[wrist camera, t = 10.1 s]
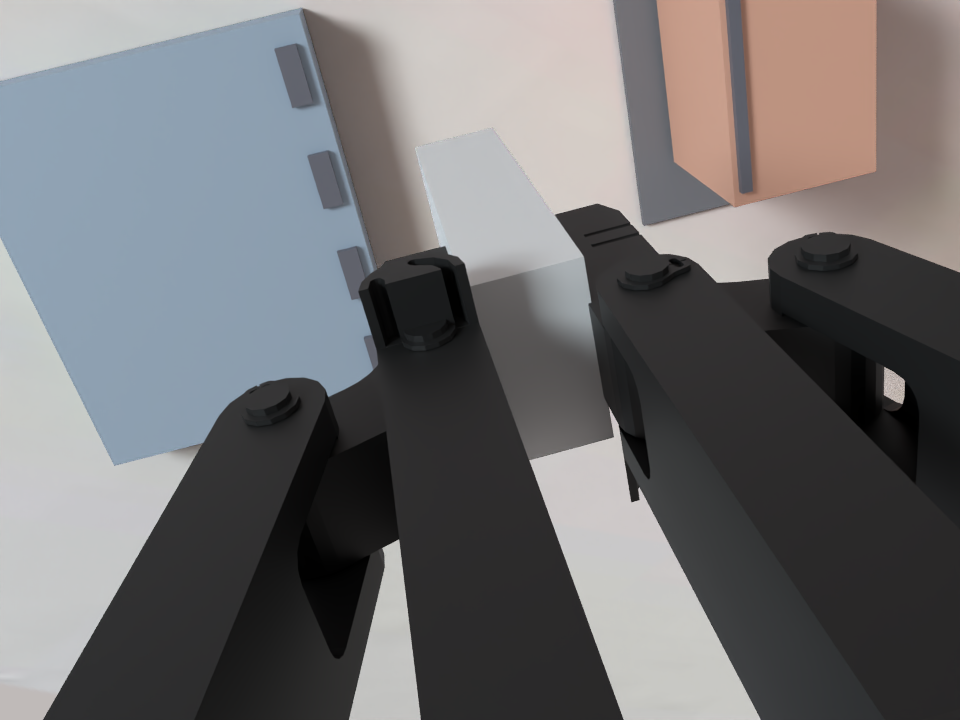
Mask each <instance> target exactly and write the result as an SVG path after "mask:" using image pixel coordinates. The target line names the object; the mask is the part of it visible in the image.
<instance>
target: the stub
mask: <svg viewBox="0 0 960 720" xmlns="http://www.w3.org/2000/svg"><path fill="white" fill-rule="evenodd" d="M656 1H657V10H658V19H659V28H660V38H661V47H662V56H663V65H664V74H665V83H666V93H667V102H668V111H669V120H670V129H671V138H672V148H673V157H674V162H675V163H676V164H678V165H679V166H680V167H682V168H683V169H684V170H686V171H687V172H688V173H690V174H691V175H692V176H694V177H695V178H696V179H698V180H699V181H700V182H702V183H703V184H704V185H706V186H707V187H708V188H710V189H711V190H713V191H714V192H715V193H717V194H718V195H719V196H721V197H722V198H723V199H725V200H726V201H727V202H729V203H730V204H731V205H733V206H734V207H738V206H742V205H746V204H750V203H754V202H758V201H762V200H766V199H769V198H773V197H777V196H781V195H785V194H789V193H793V192H797V191H801V190H805V189H809V188H813V187H817V186H821V185H825V184H829V183H833V182H837V181H841V180H845V179H849V178H853V177H857V176H861V175H865V174H868V173H872V172H876V0H656Z"/></svg>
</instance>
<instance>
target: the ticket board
mask: <svg viewBox="0 0 960 720" xmlns="http://www.w3.org/2000/svg"><path fill="white" fill-rule="evenodd" d="M0 237H1V239H2V241H3V243H4V245H5V247H6V249H7V252H8V254H9V256H10V258H11V260H12V262H13V264H14V266H15V268H16V270H17V272H18V274H19V276H20V278H21V280H22V282H23V284H24V286H25V288H26V290H27V292H28V294H29V296H30V298H31V300H32V302H33V304H34V306H35V308H36V310H37V312H38V314H39V316H40V318H41V320H42V322H43V324H44V326H45V328H46V330H47V332H48V334H49V336H50V338H51V340H52V342H53V344H54V346H55V348H56V350H57V352H58V354H59V356H60V358H61V360H62V362H63V364H64V366H65V368H66V370H67V372H68V374H69V376H70V378H71V380H72V382H73V384H74V386H75V388H76V390H77V392H78V394H79V396H80V398H81V400H82V402H83V404H84V406H85V408H86V410H87V412H88V414H89V416H90V418H91V420H92V422H93V424H94V426H95V428H96V430H97V432H98V434H99V436H100V438H101V440H102V442H103V444H104V446H105V448H106V450H107V452H108V454H109V456H110V458H111V460H112V462H113V464H114V466H115V465H119V464H123V463H127V462H131V461H134V460H138V459H142V458H146V457H150V456H154V455H158V454H162V453H166V452H170V451H174V450H178V449H181V448H185V447H189V446H193V445H197V444H201V443H203V442H204V441H205V439H206V437H207V436H208V434H209V432H210V430H211V429H212V427H213V425H214V423H215V422H216V420H217V418H218V417H219V415H220V414H221V413H222V412H223V410H224V409H225V408H226V407H227V406H228V405H229V403H231V402H232V401H234V400H235V399H236V398H238V397H239V396H241V395H242V394H244V393H245V392H246V391H247V390H248V389H250V388H252V387H254V386H256V385H257V387H258V386H260V385H259V384H261V383H264V382H267V381H276V380H280V379H284V378H301V377H305V378H309V379H312V380H316V381H319V383H320V384H321V385H322V386H323V387H324V388H325V389H326V392H327V395H328V397H329V396H331V395H333V394H336V393H338V392H340V391H342V390H344V389H346V388H348V387H350V386H352V385H354V384H356V383H357V382H359V381H360V380H362V379H363V378H364V377H366V376H367V375H369V374H370V373H371V372H372V371H373V370H374V369H375V367H376V366H377V365H378V358H377V350H376V347H375V344H374V340H373V337H372V334H371V331H370V328H369V324H368V321H367V318H366V315H365V312H364V309H363V305H362V302H361V299H360V296H359V293H358V290H359V287H360V285H361V282H362V281H363V280H364V279H365V278H366V277H367V276H368V275H370V274H371V273H372V272H373V271H375V270H377V266H376V262H375V259H374V255H373V252H372V249H371V245H370V242H369V238H368V235H367V231H366V228H365V224H364V221H363V217H362V214H361V210H360V207H359V203H358V200H357V197H356V193H355V190H354V186H353V183H352V179H351V176H350V172H349V169H348V165H347V162H346V158H345V155H344V152H343V148H342V145H341V141H340V138H339V134H338V131H337V127H336V124H335V120H334V117H333V113H332V110H331V106H330V103H329V100H328V96H327V93H326V89H325V86H324V82H323V79H322V75H321V72H320V68H319V65H318V61H317V58H316V55H315V51H314V48H313V44H312V41H311V37H310V34H309V30H308V27H307V23H306V20H305V16H304V13H303V9H302V8H299V9H295V10H291V11H287V12H282V13H278V14H274V15H270V16H266V17H262V18H258V19H254V20H250V21H246V22H241V23H237V24H233V25H229V26H225V27H221V28H217V29H213V30H209V31H205V32H200V33H196V34H192V35H188V36H184V37H180V38H176V39H172V40H168V41H164V42H159V43H155V44H151V45H147V46H143V47H139V48H135V49H131V50H127V51H123V52H118V53H114V54H110V55H106V56H102V57H98V58H94V59H90V60H86V61H82V62H77V63H73V64H69V65H65V66H61V67H57V68H53V69H49V70H45V71H41V72H36V73H32V74H28V75H24V76H20V77H16V78H12V79H8V80H4V81H0Z"/></svg>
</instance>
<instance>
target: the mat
mask: <svg viewBox="0 0 960 720" xmlns="http://www.w3.org/2000/svg"><path fill="white" fill-rule="evenodd" d="M613 2H614V10H615V18H616V25H617V33H618V40H619V48H620V56H621V63H622V71H623V79H624V86H625V94H626V102H627V109H628V117H629V125H630V132H631V140H632V148H633V155H634V163H635V171H636V178H637V186H638V193H639V201H640V209H641V216H642V224H643V225H644V226H645V225H649V224H653V223H657V222H661V221H665V220H669V219H673V218H676V217H680V216H684V215H688V214H692V213H696V212H700V211H704V210H708V209H712V208H716V207H720V206H724V205H728V204H730V203H729V202H727V201H726V200H725V199H723V198H722V197H721V196H719V195H718V194H717V193H715V192H714V191H713V190H711V189H710V188H708V187H707V186H706V185H704V184H703V183H702V182H700V181H699V180H698V179H696V178H695V177H694V176H692V175H691V174H690V173H688V172H687V171H686V170H684V169H683V168H682V167H680V166H679V165H678V164H676V163H675V162H674V157H673V148H672V138H671V129H670V120H669V111H668V102H667V93H666V83H665V74H664V65H663V56H662V47H661V38H660V28H659V19H658V10H657V1H656V0H613Z"/></svg>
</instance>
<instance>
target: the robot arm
mask: <svg viewBox="0 0 960 720" xmlns="http://www.w3.org/2000/svg"><path fill="white" fill-rule="evenodd" d="M415 150H416V154H417V158H418V162H419V166H420V170H421V174H422V178H423V182H424V185H425V189H426V193H427V197H428V201H429V205H430V209H431V213H432V217H433V221H434V225H435V229H436V233H437V237H438V241H439V245H440V247H439V248H435V249H432V250H428V251H424V252H420V253H416V254H413V255H409V256H405V257H401V258H397V259H393V260H390V261H386V262H385V263H384V264H383V265H382V267H381V268H379V269H377V270H375V271H373V272H372V273H371V274H370V275H368V276H367V277H366V278H365V279H364V280H363V281H362V282H361V285H360V287H359V290H358V293H359V296H360V299H361V302H362V305H363V309H364V312H365V315H366V318H367V321H368V324H369V328H370V331H371V334H372V337H373V340H374V344H375V347H376V350H377V358H378V365H377V366H376V367H375V369H374V370H373V371H372V372H371V373H370V374H369V375H367V376H366V377H364V378H363V379H362V380H360V381H359V382H357V383H356V384H354V385H352V386H350V387H348V388H346V389H344V390H342V391H340V392H338V393H336V394H333V395H331V396H329V397H328V395H327V392H326V389H325V388H324V387H323V386H322V385H321V384H320V383H319V381H316V380H312V379H309V378H305V377H301V378H284V379H280V380H276V381H267V382H264V383H261V384H259V385H260V386H258V387H257V385H256V386H254V387H252V388H250V389H248V390H247V391H246V392H245V393H244V394H242V395H241V396H239V397H238V398H236V399H235V400H234V401H232V402H231V403H229V405H228V406H227V407H226V408H225V409H224V410H223V412H222V413H221V414H220V415H219V417H218V418H217V420H216V422H215V423H214V425H213V427H212V429H211V430H210V432H209V434H208V436H207V437H206V439H205V441H204V442H203V444H202V446H201V448H200V449H199V451H198V453H197V455H196V456H195V458H194V460H193V461H192V463H191V465H190V467H189V468H188V470H187V472H186V474H185V475H184V477H183V479H182V481H181V482H180V484H179V486H178V487H177V489H176V491H175V493H174V494H173V496H172V498H171V500H170V501H169V503H168V505H167V506H166V508H165V510H164V512H163V513H162V515H161V517H160V519H159V520H158V522H157V524H156V525H155V527H154V529H153V531H152V532H151V534H150V536H149V538H148V539H147V541H146V543H145V544H144V546H143V548H142V550H141V551H140V553H139V555H138V557H137V558H136V560H135V562H134V563H133V565H132V567H131V569H130V570H129V572H128V574H127V576H126V577H125V579H124V581H123V582H122V584H121V586H120V588H119V589H118V591H117V593H116V595H115V596H114V598H113V600H112V601H111V603H110V605H109V607H108V608H107V610H106V612H105V614H104V615H103V617H102V619H101V620H100V622H99V624H98V626H97V627H96V629H95V631H94V633H93V634H92V636H91V638H90V640H89V641H88V643H87V645H86V646H85V648H84V650H83V652H82V653H81V655H80V657H79V659H78V660H77V662H76V664H75V665H74V667H73V669H72V671H71V672H70V674H69V676H68V678H67V679H66V681H65V683H64V684H63V686H62V688H61V690H60V691H59V693H58V695H57V697H56V698H55V700H54V702H53V704H52V705H51V707H50V709H49V710H48V712H47V714H46V716H45V717H44V719H43V720H349V716H350V712H351V708H352V704H353V699H354V695H355V691H356V687H357V683H358V678H359V674H360V670H361V666H362V661H363V657H364V653H365V649H366V644H367V640H368V636H369V632H370V627H371V623H372V619H373V615H374V610H375V606H376V602H377V598H378V593H379V589H380V585H381V581H382V576H383V572H384V568H385V564H384V552H383V549H382V548H383V547H385V546H387V545H389V544H391V543H393V542H395V541H396V540H398V539H399V541H400V549H401V557H402V566H403V574H404V582H405V590H406V599H407V607H408V615H409V624H410V632H411V640H412V649H413V657H414V665H415V673H416V682H417V690H418V698H419V707H420V715H421V720H623V717H622V714H621V711H620V709H619V706H618V703H617V700H616V698H615V695H614V692H613V689H612V687H611V684H610V681H609V678H608V676H607V673H606V670H605V667H604V665H603V662H602V659H601V656H600V654H599V651H598V648H597V645H596V643H595V640H594V637H593V634H592V632H591V629H590V626H589V623H588V621H587V618H586V615H585V612H584V610H583V607H582V604H581V601H580V599H579V596H578V593H577V590H576V588H575V585H574V582H573V579H572V577H571V574H570V571H569V568H568V566H567V563H566V560H565V557H564V555H563V552H562V549H561V546H560V544H559V541H558V538H557V536H556V533H555V530H554V527H553V525H552V522H551V519H550V516H549V514H548V511H547V508H546V505H545V503H544V500H543V497H542V494H541V492H540V489H539V486H538V483H537V481H536V478H535V475H534V472H533V470H532V467H531V464H530V461H529V460H532V459H536V458H539V457H543V456H547V455H550V454H554V453H558V452H561V451H565V450H569V449H572V448H576V447H580V446H584V445H587V444H591V443H595V442H598V441H602V440H606V439H609V438H613V437H614V435H613V429H612V423H611V417H610V411H609V407H610V409H611V411H612V413H613V415H614V417H615V418H616V420H617V422H618V424H619V429H620V435H621V441H622V448H623V454H624V460H625V466H626V472H627V479H628V485H629V491H630V497H631V502H634V501H638V500H639V492H638V488H639V487H640V489H641V491H642V492H643V494H644V496H645V498H646V500H647V502H648V504H649V506H650V508H651V510H652V512H653V514H654V515H655V517H656V519H657V521H658V523H659V525H660V527H661V529H662V531H663V533H664V535H665V537H666V538H667V540H668V542H669V544H670V546H671V548H672V550H673V552H674V554H675V556H676V558H677V560H678V561H679V563H680V565H681V567H682V569H683V571H684V573H685V575H686V577H687V579H688V581H689V583H690V584H691V586H692V588H693V590H694V592H695V594H696V596H697V598H698V600H699V602H700V604H701V606H702V607H703V609H704V611H705V613H706V615H707V617H708V619H709V621H710V623H711V625H712V627H713V629H714V630H715V632H716V634H717V636H718V638H719V640H720V642H721V644H722V646H723V648H724V650H725V652H726V653H727V655H728V657H729V659H730V661H731V663H732V665H733V667H734V669H735V671H736V673H737V675H738V676H739V678H740V680H741V682H742V684H743V686H744V688H745V690H746V692H747V694H748V696H749V698H750V699H751V701H752V703H753V705H754V707H755V709H756V711H757V713H758V715H759V717H760V719H761V720H960V273H959V272H957V271H954V270H951V269H949V268H946V267H943V266H941V265H938V264H935V263H933V262H930V261H927V260H925V259H922V258H919V257H916V256H914V255H911V254H908V253H906V252H903V251H900V250H898V249H895V248H892V247H890V246H887V245H884V244H882V243H879V242H876V241H874V240H871V239H867V238H863V237H859V236H855V235H847V234H835V233H833V232H824V233H819V235H817V233H815V234H809V235H805V236H804V237H803V238H799V239H796V240H792V241H789V242H787V243H785V244H783V245H781V246H780V247H778V248H776V249H774V251H773V252H772V254H771V255H770V256H769V258H768V273H769V279H762V280H752V281H742V282H728V283H716V281H715V280H714V279H713V278H712V277H711V276H710V275H709V274H708V273H707V272H706V271H705V270H704V269H703V268H702V267H701V266H700V265H699V264H697V263H696V262H694V261H692V260H691V259H689V258H687V257H682V256H677V255H672V254H658V253H657V252H656V251H655V249H654V248H653V247H652V246H651V245H650V244H649V243H648V242H647V241H646V240H645V238H644V237H643V236H642V235H639V232H638V231H637V230H636V229H635V228H634V226H633V225H630V222H629V221H628V220H627V219H626V218H625V217H624V215H623V214H622V213H621V212H620V211H618V210H615V209H612V208H609V207H606V206H603V205H600V204H594V205H590V206H586V207H583V208H579V209H575V210H571V211H567V212H563V213H560V214H556V215H554V214H553V212H552V211H551V209H550V208H549V206H548V205H547V204H546V202H545V201H544V199H543V198H542V197H541V195H540V194H539V192H538V191H537V189H536V188H535V187H534V185H533V184H532V182H531V181H530V179H529V178H528V177H527V175H526V174H525V172H524V171H523V170H522V168H521V167H520V165H519V164H518V162H517V161H516V160H515V158H514V157H513V155H512V154H511V152H510V151H509V150H508V148H507V147H506V145H505V144H504V143H503V141H502V140H501V138H500V137H499V135H498V134H497V133H496V131H495V130H494V128H493V127H492V128H488V129H484V130H480V131H477V132H473V133H469V134H465V135H461V136H457V137H453V138H449V139H446V140H442V141H438V142H434V143H430V144H426V145H422V146H418V147H415ZM884 367H886V368H888V369H890V370H892V371H894V372H895V373H896V374H898V375H899V376H900V377H902V378H903V379H904V380H905V397H904V401H903V404H900V403H897V402H895V401H893V400H891V399H890V398H888V397H886V396H884Z"/></svg>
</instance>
